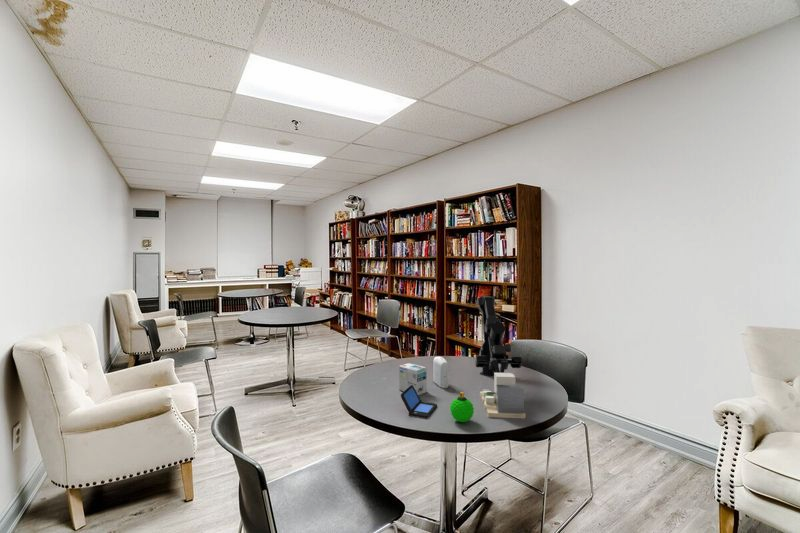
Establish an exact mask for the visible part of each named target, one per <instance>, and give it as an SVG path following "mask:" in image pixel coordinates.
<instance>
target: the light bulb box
mask: <svg viewBox="0 0 800 533" xmlns="http://www.w3.org/2000/svg"><path fill="white" fill-rule="evenodd" d="M427 372H428V370H427V367H425V366H423V365H418V364H413V363H410V362H409V363H405V364H401V365H398V373H399V374H398V379H399V380H398V381H399V382H398V383H399V384H398V385H399V386H398V388H399V389H398V391H401V392H404V391H405V390H406V389H407V388H408V387H410V386H411V385H413V387H414V388H415V390H416V392H417V395H418V396H420V395H423V394H425V393H427V392H428V376H427V375H428V373H427Z"/></svg>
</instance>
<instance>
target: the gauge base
mask: <svg viewBox="0 0 800 533" xmlns="http://www.w3.org/2000/svg"><path fill="white" fill-rule="evenodd" d="M487 392H492V390H491V389H482V390H481V391H479V395H480V398H481V401H482V402H481V403H482V404H483V407H484V410H485V412H486V416H487V417H488V418H503V419H505V418H506V419H526V418H527V417H526V412H525V411H524V413H498V412H497V409H496V401H495V398H494V394H487Z"/></svg>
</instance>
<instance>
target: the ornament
mask: <svg viewBox="0 0 800 533" xmlns="http://www.w3.org/2000/svg"><path fill="white" fill-rule="evenodd" d="M449 407H450V410H449V411H450V414H451V415H450V416H452V418H453V419H454V420H455V421H457V422H459V423H465V422H468V421H470V420H471V419H472V417H473V416H474V413H475V408H474V404H473V403H472V401H471V400H469V399H468V398H467V397H465V392H463V391H460V392H459V396H457V397H456V398H455V399H453V400H452V402H451V403H450V406H449Z"/></svg>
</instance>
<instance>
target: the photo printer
mask: <svg viewBox="0 0 800 533" xmlns="http://www.w3.org/2000/svg"><path fill="white" fill-rule="evenodd" d="M432 360H433V361H432V362H433V364H432V366H433V367H432V368H433V369H432V370H433V371H432V373H433V375H432V379H433V383H434V384H436V385H437V386H438V387H439V388H441V389H447V388H449V384H450V383H449V382H450V381H449V380H450V379H449V378H450V377H449V376H450V375H449V374H450V373H449V372H450V370H449V368H450V365H449V363H448V362H447V359H445V358H444V357H442V356H435V357H434V358H433V359H432Z"/></svg>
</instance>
